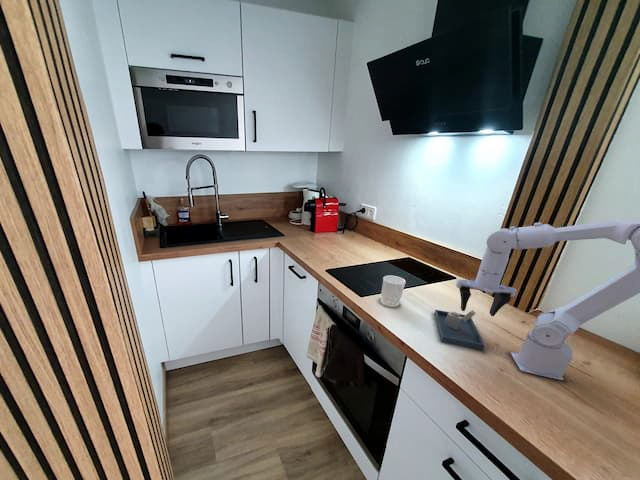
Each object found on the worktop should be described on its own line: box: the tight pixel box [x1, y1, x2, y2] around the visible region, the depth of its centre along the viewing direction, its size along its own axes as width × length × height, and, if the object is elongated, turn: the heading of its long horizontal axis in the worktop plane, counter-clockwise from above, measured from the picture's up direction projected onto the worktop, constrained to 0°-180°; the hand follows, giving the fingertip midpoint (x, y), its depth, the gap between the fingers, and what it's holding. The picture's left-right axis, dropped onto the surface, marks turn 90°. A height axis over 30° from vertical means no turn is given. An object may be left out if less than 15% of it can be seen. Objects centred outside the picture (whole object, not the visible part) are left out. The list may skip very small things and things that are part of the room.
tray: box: [433, 309, 485, 351], centre depth 94 cm, size 11×17×2 cm, turn 160°
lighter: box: [444, 309, 476, 330], centre depth 93 cm, size 7×2×8 cm, turn 43°
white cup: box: [380, 274, 406, 308], centre depth 108 cm, size 8×8×10 cm
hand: (476, 312), depth 86 cm, fingers open, 7 cm apart
